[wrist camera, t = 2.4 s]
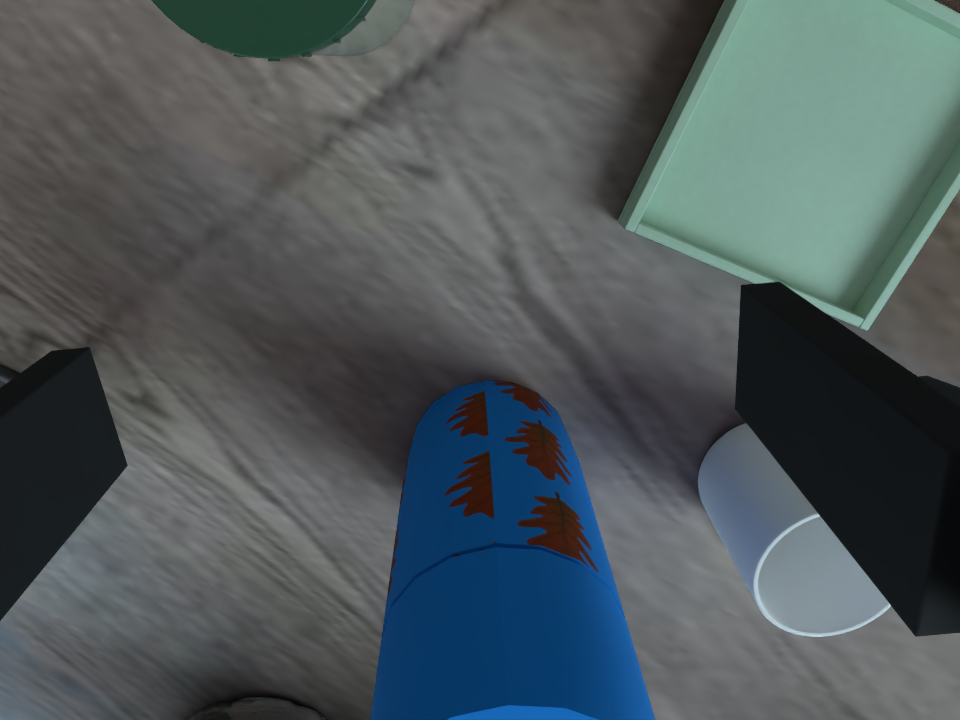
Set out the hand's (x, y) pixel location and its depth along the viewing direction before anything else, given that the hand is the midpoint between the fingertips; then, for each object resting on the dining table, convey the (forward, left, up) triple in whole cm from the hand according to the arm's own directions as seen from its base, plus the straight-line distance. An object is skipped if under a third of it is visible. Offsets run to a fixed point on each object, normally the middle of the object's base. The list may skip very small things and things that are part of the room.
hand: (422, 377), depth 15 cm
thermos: (+9, -16, -28) cm, 34 cm away
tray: (+18, +9, -28) cm, 35 cm away
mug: (+28, -11, -28) cm, 42 cm away
